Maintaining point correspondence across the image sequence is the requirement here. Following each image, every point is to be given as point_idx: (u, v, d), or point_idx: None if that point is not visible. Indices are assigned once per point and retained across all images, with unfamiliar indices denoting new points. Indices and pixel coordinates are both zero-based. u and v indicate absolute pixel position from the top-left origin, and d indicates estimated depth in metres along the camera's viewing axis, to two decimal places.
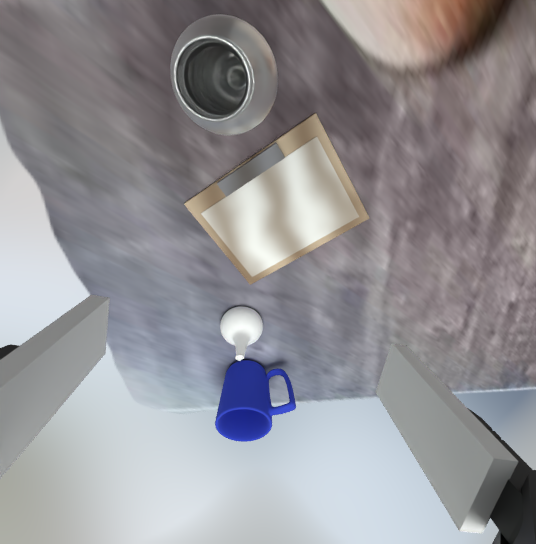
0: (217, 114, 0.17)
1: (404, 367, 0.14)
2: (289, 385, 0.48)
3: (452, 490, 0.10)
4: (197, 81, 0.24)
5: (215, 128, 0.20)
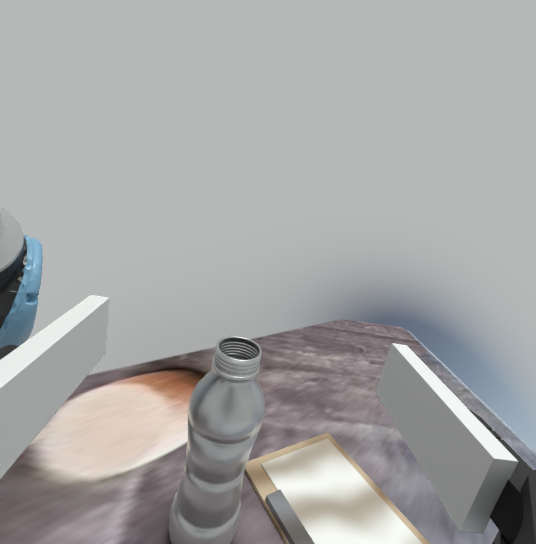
0: None
1: (404, 367, 0.14)
2: None
3: (452, 490, 0.10)
4: None
5: (261, 400, 0.25)
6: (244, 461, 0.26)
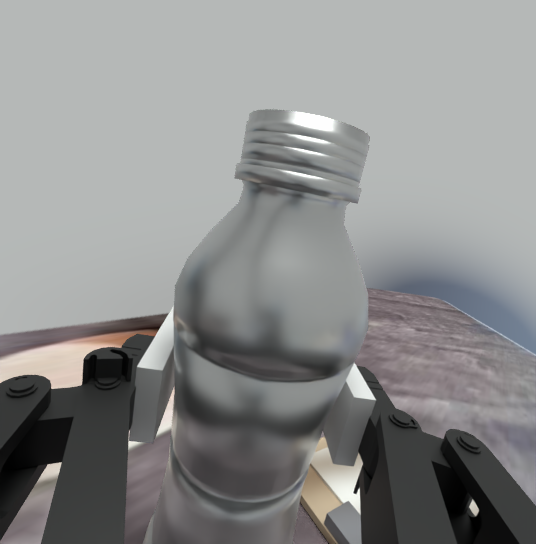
0: None
1: None
2: None
3: (332, 431, 0.11)
4: None
5: (363, 279, 0.10)
6: (317, 438, 0.10)
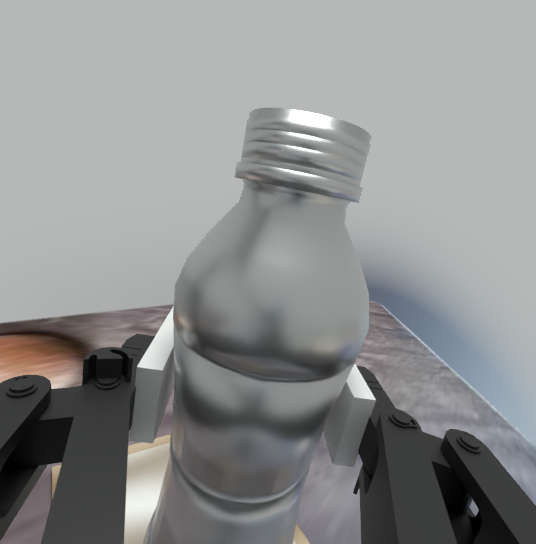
0: None
1: None
2: None
3: (332, 431, 0.11)
4: None
5: (363, 279, 0.10)
6: (318, 438, 0.10)
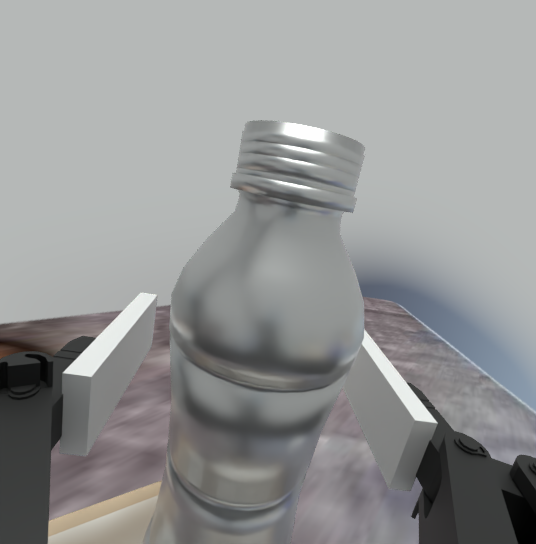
0: None
1: None
2: None
3: (385, 453, 0.11)
4: None
5: (359, 287, 0.10)
6: (314, 446, 0.10)
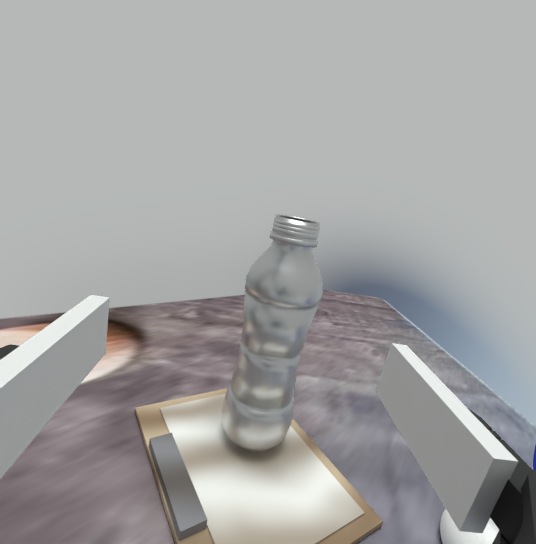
0: None
1: (404, 367, 0.14)
2: None
3: (452, 490, 0.10)
4: (274, 356, 0.25)
5: None
6: (302, 339, 0.26)
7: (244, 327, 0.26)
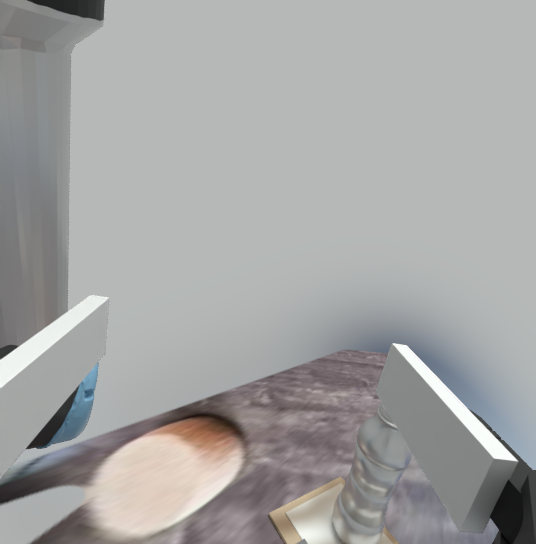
0: None
1: (404, 367, 0.14)
2: None
3: (452, 490, 0.10)
4: None
5: None
6: None
7: (357, 471, 0.39)
